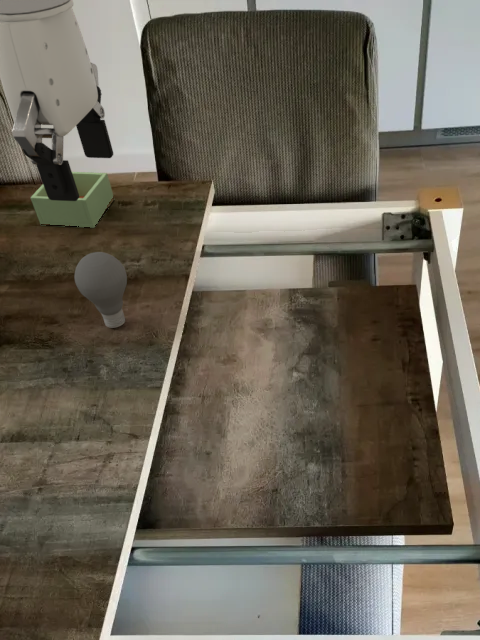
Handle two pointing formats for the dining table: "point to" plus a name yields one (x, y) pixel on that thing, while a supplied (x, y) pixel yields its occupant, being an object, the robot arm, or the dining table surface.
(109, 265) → the light bulb
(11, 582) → the dining table surface
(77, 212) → the box
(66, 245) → the dining table surface
